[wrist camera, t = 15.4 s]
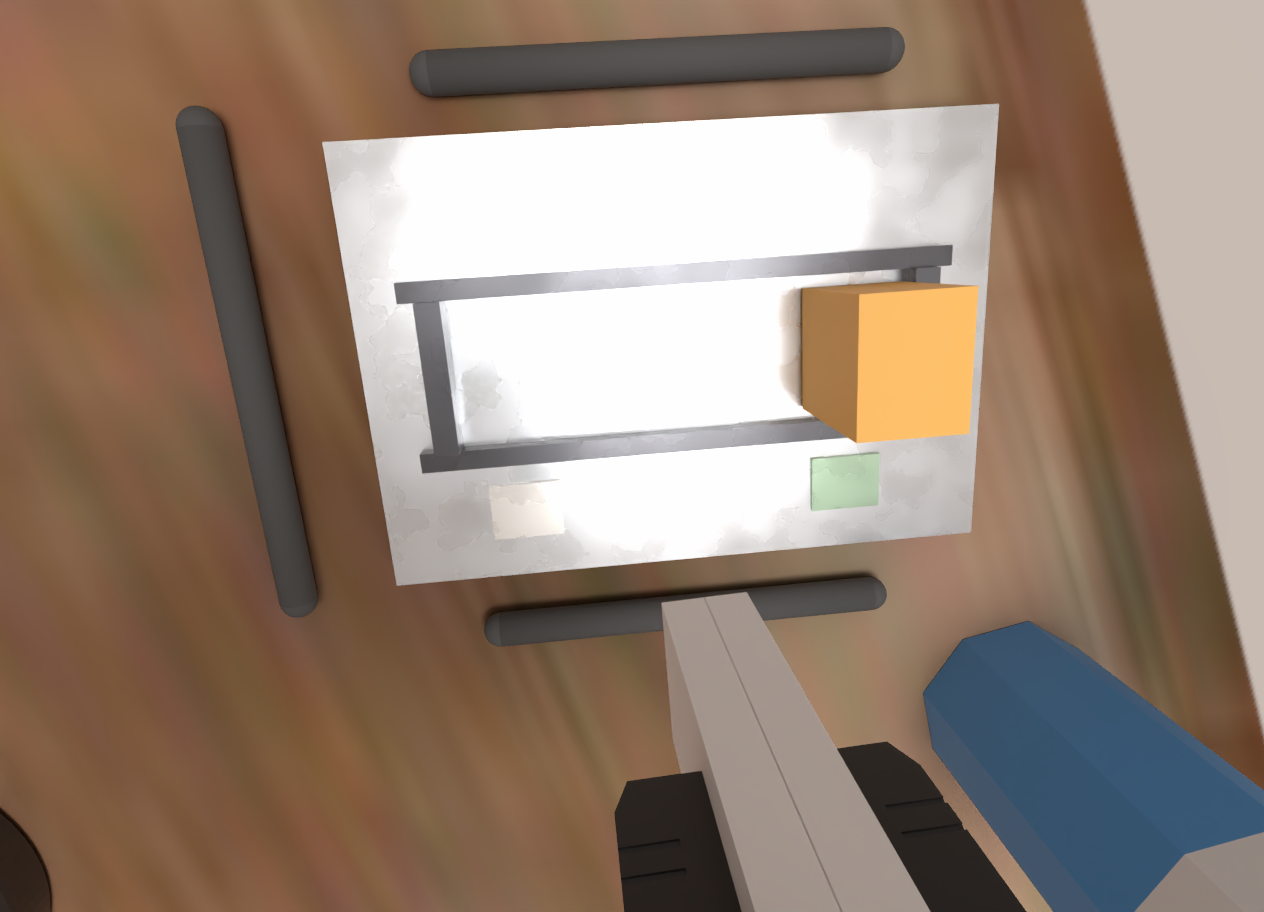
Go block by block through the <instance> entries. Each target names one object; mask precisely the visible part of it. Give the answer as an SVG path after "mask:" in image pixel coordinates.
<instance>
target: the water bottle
mask: <svg viewBox="0 0 1264 912" xmlns="http://www.w3.org/2000/svg"><path fill="white" fill-rule="evenodd" d="M923 695H924V701H925V707H926V713H927V719H928V724H929V730H930V736H931V742H932V748H933V749H934V751H935V752H936V753H937V755H938V756H939V757H940V759H941V760H942V762H943V763H944V764H945V766H946V767H947V768H948V770H949V771H950V772H951V774H952V775H953V776H954V778H955V779H956V780H957V782H958V783H959V785H960V786H961V787H962V789H963V790H964V791H965V793H966V794H967V795H968V797H969V798H970V799H971V801H972V802H973V803H974V805H975V806H976V808H977V809H978V810H979V812H980V813H981V814H982V816H983V817H984V818H985V820H986V821H987V822H988V824H989V825H990V826H991V828H992V829H993V831H994V832H995V833H996V835H997V836H998V837H999V839H1000V840H1001V841H1002V843H1003V844H1004V845H1005V847H1006V848H1007V849H1008V851H1009V852H1010V854H1011V855H1012V856H1013V858H1014V859H1015V860H1016V862H1017V863H1018V864H1019V866H1020V867H1021V868H1022V870H1023V871H1024V872H1025V874H1026V875H1027V877H1028V878H1029V879H1030V881H1031V882H1032V883H1033V885H1034V886H1035V887H1036V889H1037V890H1038V891H1039V893H1040V894H1041V895H1042V897H1043V898H1044V900H1045V901H1046V902H1047V904H1048V905H1049V906H1050V908H1051V909H1052V910H1053V912H1264V790H1262V789H1261V788H1260V787H1259V786H1257V785H1256V784H1255V783H1253V782H1252V781H1251V780H1249V779H1248V778H1247V777H1245V776H1244V775H1243V774H1242V773H1240V772H1239V771H1238V770H1236V769H1235V768H1234V767H1232V766H1231V765H1230V764H1228V763H1227V762H1226V761H1225V760H1223V759H1222V758H1221V757H1219V756H1218V755H1217V754H1215V753H1214V752H1213V751H1211V750H1210V749H1209V748H1208V747H1206V746H1205V745H1204V744H1202V743H1201V742H1200V741H1198V740H1197V739H1196V738H1194V737H1193V736H1192V735H1191V734H1189V733H1188V732H1187V731H1185V730H1184V729H1183V728H1181V727H1180V726H1179V725H1177V724H1176V723H1175V722H1174V721H1172V720H1171V719H1170V718H1168V717H1167V716H1166V715H1164V714H1163V713H1162V712H1160V711H1159V710H1158V709H1157V708H1155V707H1154V706H1153V705H1151V704H1150V703H1149V702H1147V701H1146V700H1145V699H1143V698H1142V697H1141V696H1140V695H1138V694H1137V693H1136V692H1134V691H1133V690H1132V689H1130V688H1129V687H1128V686H1126V685H1125V684H1124V683H1123V682H1121V681H1120V680H1119V679H1117V678H1116V677H1115V676H1113V675H1112V674H1111V673H1109V672H1108V671H1107V670H1106V669H1104V668H1103V667H1102V666H1100V665H1099V664H1098V663H1096V662H1095V661H1094V660H1092V659H1091V658H1090V657H1089V656H1087V655H1086V654H1085V653H1083V652H1082V651H1081V650H1079V649H1078V648H1076V647H1074V646H1072V645H1070V644H1069V643H1067V642H1065V641H1063V640H1062V639H1060V638H1058V637H1056V636H1054V635H1053V634H1051V633H1049V632H1047V631H1045V630H1044V629H1042V628H1040V627H1038V626H1037V625H1035V624H1033V623H1031V622H1029V621H1027V622H1023V623H1020V624H1016V625H1013V626H1009V627H1006V628H1002V629H998V630H995V631H991V632H988V633H984V634H981V635H977V636H973V637H970V638H966V639H963V640H962V641H961V642H960V644H959V645H958V647H957V648H956V649H955V651H954V652H953V653H952V655H951V656H950V657H949V659H948V660H947V661H946V663H945V664H944V666H943V667H942V668H941V670H940V671H939V672H938V674H937V675H936V676H935V678H934V679H933V680H932V682H931V683H930V684H929V686H928V687H927V689H926V690H925V691H924V693H923Z"/></svg>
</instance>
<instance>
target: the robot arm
mask: <svg viewBox="0 0 1264 912" xmlns="http://www.w3.org/2000/svg"><path fill="white" fill-rule="evenodd" d="M661 604H662V616H663V628H664V640H665V652H666V664H667V676H668V688H669V701H670V713H671V725H672V737H673V742H674V746H675V750H676V754H677V759H678V763H679V767H680V771H681V774H675V775H668V776H661V777H654V778H647V779H640V780H633V781H627V783H626V786H625V788H624V791H623V793H622V796H621V798H620V801H619V803H618V805H617V808H616V810H615V823H616V833H617V843H618V852H619V862H620V872H621V882H622V892H623V902H624V912H1026V910H1025V909H1024V908H1023V906H1022V905H1021V904H1020V902H1019V901H1018V899H1017V898H1016V897H1015V895H1014V894H1013V892H1012V891H1011V890H1010V888H1009V887H1008V886H1007V884H1006V883H1005V881H1004V880H1003V879H1002V877H1001V876H1000V875H999V873H998V872H997V870H996V869H995V868H994V866H993V865H992V863H991V862H990V861H989V859H988V858H987V857H986V855H985V854H984V852H983V851H982V850H981V848H980V847H979V846H978V844H977V843H976V841H975V840H974V839H973V837H972V836H971V834H970V833H969V832H968V830H964V828H963V826H962V822H961V821H960V819H959V818H958V816H957V815H956V814H955V812H954V811H953V810H952V808H951V807H950V805H949V804H948V803H945V802H944V800H943V796H942V794H941V793H940V792H939V790H938V789H937V787H936V786H935V785H934V783H933V782H932V781H931V779H930V778H929V776H928V775H927V774H926V772H925V771H924V770H923V768H922V767H921V765H919V764H918V763H916V762H915V761H914V760H912V759H911V758H909V757H908V756H906V755H905V754H904V753H902V752H901V751H899V750H898V749H897V748H895V747H894V746H892V745H891V744H890V743H888V742H881V743H874V744H867V745H860V746H853V747H846V748H839V749H837V748H836V747H835V745H834V743H833V741H832V740H831V738H830V736H829V734H828V733H827V731H826V729H825V727H824V726H823V724H822V722H821V720H820V719H819V717H818V715H817V714H816V712H815V710H814V708H813V707H812V705H811V703H810V701H809V700H808V698H807V696H806V694H805V693H804V691H803V689H802V687H801V686H800V684H799V682H798V680H797V679H796V677H795V675H794V674H793V672H792V670H791V668H790V667H789V665H788V663H787V661H786V660H785V658H784V656H783V654H782V653H781V651H780V649H779V647H778V646H777V644H776V642H775V641H774V639H773V637H772V635H771V634H770V632H769V630H768V628H767V627H766V625H765V623H764V621H763V620H762V618H761V616H760V614H759V613H758V611H757V609H756V607H755V606H754V604H753V602H752V601H751V599H750V597H749V595H748V594H747V592H743V593H735V594H727V595H719V596H711V597H703V598H695V599H687V600H679V601H671V602H663V603H661ZM0 912H50V892H49V887H48V882H47V879H46V876H45V873H44V870H43V868H42V865H41V863H40V861H39V859H38V857H37V855H36V854H35V852H34V850H33V849H32V847H31V846H30V844H29V843H28V842H27V840H26V839H25V838H24V836H23V835H22V834H21V833H20V832H19V830H18V829H17V828H16V827H15V826H14V825H13V824H12V823H11V822H10V821H9V820H8V819H6V818H5V817H4V816H3V815H2V814H1V813H0Z"/></svg>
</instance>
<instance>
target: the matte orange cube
mask: <svg viewBox="0 0 1264 912" xmlns="http://www.w3.org/2000/svg"><path fill="white" fill-rule="evenodd" d="M977 302H978V286H973V285H955V284H937V283H920V282H902V281H895V282H881V283H867V284H853V285H839V286H825V287H811V288H802V409H804V410H805V411H807V412H808V413H810V414H811V415H813V416H815V417H816V418H818V419H819V420H821V421H822V422H824V423H825V424H827V425H829V426H830V427H832V428H833V429H835V430H836V431H838V432H840V433H841V434H843V435H844V436H846V437H847V438H849V439H851V440H852V441H854V442H855V443H866V442H878V441H890V440H902V439H913V438H925V437H937V436H949V435H961V434H969V429H970V413H971V397H972V381H973V365H974V349H975V333H976V318H977Z"/></svg>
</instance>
